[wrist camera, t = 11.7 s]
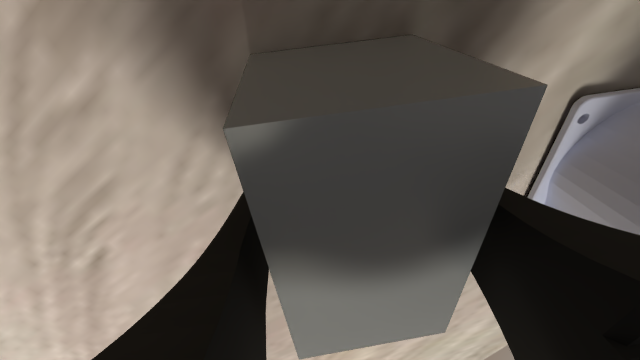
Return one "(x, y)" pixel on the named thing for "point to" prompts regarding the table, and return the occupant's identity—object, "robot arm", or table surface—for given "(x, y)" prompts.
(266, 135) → the grey rectangular box
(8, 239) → the table surface
